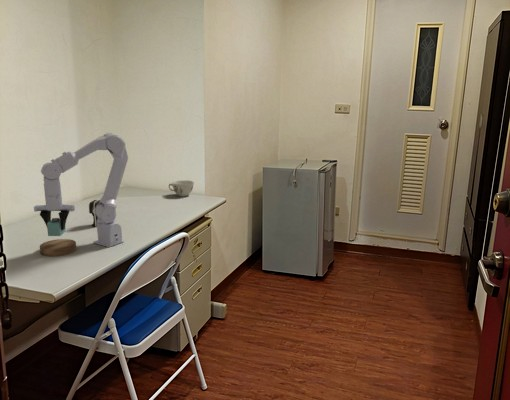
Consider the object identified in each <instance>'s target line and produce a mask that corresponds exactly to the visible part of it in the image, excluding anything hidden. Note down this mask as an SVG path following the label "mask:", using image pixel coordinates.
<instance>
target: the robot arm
mask: <svg viewBox="0 0 510 400" xmlns="http://www.w3.org/2000/svg"><path fill="white" fill-rule="evenodd" d="M96 151H108V152H109V153H110V155H111V156H112V158H113V162H112V165H111V169H110V172H109V175H108V178H107V182H106V186H105V188H104V193H103V195H102V196H101V198H100V199H99V200H100V202H99V204H98V205H97V206H96V208H95V214H96V216H97V217H98V219H97V227H96V230H97V234H96V235H97V240H95V241H93V244H96V245H100V246H104V247H107V248H109V247H112V246H115V245H119V244H122V243H123V242H124V240H123V235H122V234H123V233H122V232H123V231H122V226H121V225H120V224H119V223H118V222H117V221H116V217H117V211H116V208H117V197H118V195H119V190H120V188H121V184H122V181H123V178H124V177H123V176H124V174H125V171H126V166H127V163H128V160H129V155H128V151H127V148H126V142H125V140H124V139H123V138H122V136H120V135H117V134H113V133H111V132H110V133H109V132H106V133H105V134H104V135H100V136H98V137H96V138H95V139H93V140H91V141H90V142H88V143H86V144H85V145H83V146H82V147H80V148H79V149H77V150H75V151H67V152H66V151H64V152H62V153H61V154H62V155H61V156H59V157H56V158H55V159H54V158H52V159H51V160H50V162H46V163H44V164H42V167H41V169H40V173H41V174H42V175H43V188H44V191H43V192H44V198H45V199H44V201H45V204H41V205H39V204H37V205H34V206H33V210H34V211H33V212H36V213H37V212H40V213H39V216H40V217H41V218H42V220H43V221H44V224H45V225H46V227H47V223H48V222H50V221H51V220H52V212H58V218H60V222H61V230H64V229H65V228H66V223H67V220H68V217H69V214H70V212H75V210H76V209H75V205H74V204H73V205H72V204H63V199H62V198H63V197H62V190H61V189H62V188H61V180H60V177H61V174H63V173H65V172H67V171H70V170H71V169H72V168H74V167H76V166H78V165H79V161H80V160H81V159H84V158H85V157H87V156H89V155H90V154H92V153H95V152H96Z"/></svg>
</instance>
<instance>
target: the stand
mask: <svg viewBox="0 0 510 400" xmlns="http://www.w3.org/2000/svg"><path fill="white" fill-rule="evenodd" d="M76 250H77V242H76V241H75V240H74V239H69V238H64V239H63V238H58V239H57V238H56V239H52V240H47V241H44V242H43V243H41V244H39V251H40V255H41V256H44V255H45V257H60V256H65V255H70V254H71V253H74V252H75V251H76Z"/></svg>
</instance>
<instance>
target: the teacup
mask: <svg viewBox="0 0 510 400" xmlns="http://www.w3.org/2000/svg"><path fill="white" fill-rule="evenodd" d="M194 184H195V182H194V181H192V180H176V181H172V182H171V183H169V184H168V188H169V190H170V191H171V192H174V193H175V194H176V195H177V196H178V197H182V198H183V197H188V196H189V195H190V194H191V193H192V192H193V189H194ZM171 186H172V188H171Z"/></svg>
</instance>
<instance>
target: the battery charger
mask: <svg viewBox="0 0 510 400" xmlns="http://www.w3.org/2000/svg"><path fill="white" fill-rule="evenodd" d="M99 202H100V199H94V200H91V202H89V204H88V213H89V214H91V216H92V217H93V222H92V224H91V226H92V227H96V228H97V219H98V217H97V216H96V214H95V208H96V206H97V205H98V204H99Z"/></svg>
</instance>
